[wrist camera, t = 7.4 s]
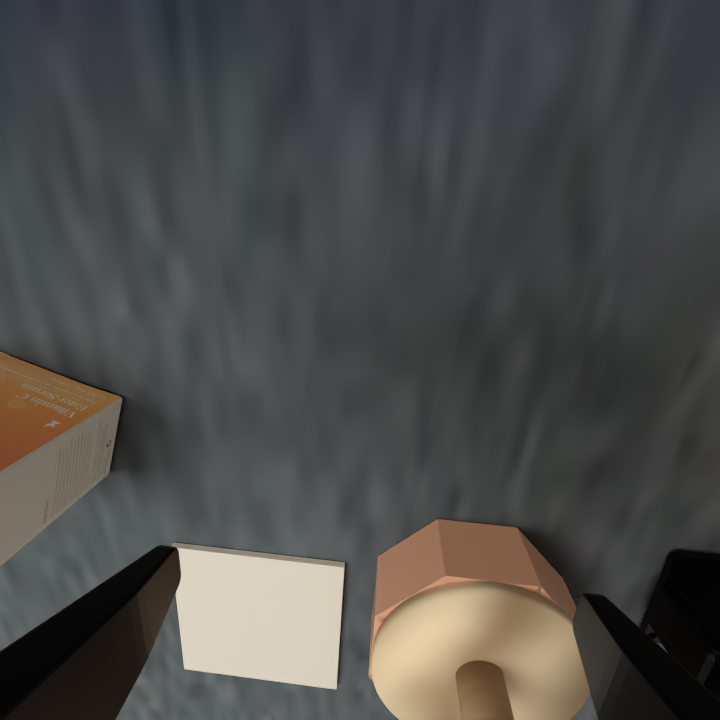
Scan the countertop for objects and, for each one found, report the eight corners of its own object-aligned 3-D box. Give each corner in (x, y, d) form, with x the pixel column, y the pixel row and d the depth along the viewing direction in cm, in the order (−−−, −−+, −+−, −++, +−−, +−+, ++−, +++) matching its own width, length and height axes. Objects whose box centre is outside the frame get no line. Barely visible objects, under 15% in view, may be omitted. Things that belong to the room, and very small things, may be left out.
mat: (345, 562, 25) (344, 567, 24) (337, 683, 28) (336, 689, 28) (173, 542, 25) (170, 547, 25) (187, 663, 29) (184, 669, 29)
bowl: (574, 533, 23) (610, 594, 19) (535, 668, 26) (558, 742, 23) (381, 512, 23) (379, 567, 20) (368, 646, 27) (364, 715, 23)
